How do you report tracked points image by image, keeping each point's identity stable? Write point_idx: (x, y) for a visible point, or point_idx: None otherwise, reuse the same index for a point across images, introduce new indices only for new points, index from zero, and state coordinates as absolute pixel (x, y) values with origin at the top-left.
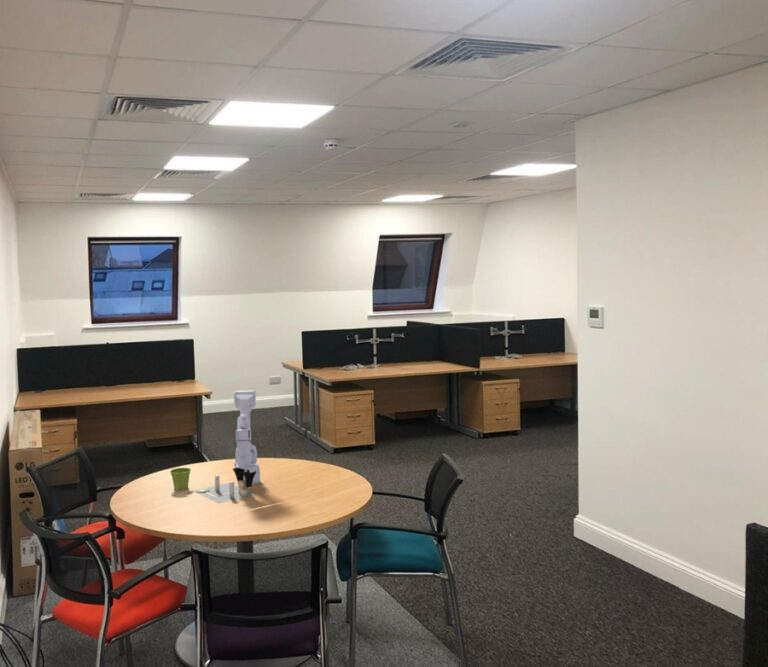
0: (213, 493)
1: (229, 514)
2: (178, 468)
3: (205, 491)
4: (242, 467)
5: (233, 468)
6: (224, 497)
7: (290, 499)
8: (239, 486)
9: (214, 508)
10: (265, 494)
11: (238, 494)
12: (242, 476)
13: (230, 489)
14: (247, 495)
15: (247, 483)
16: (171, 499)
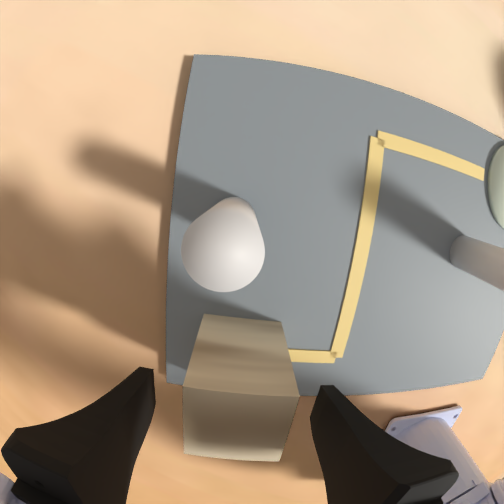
0: (444, 192)
1: (9, 51)
2: None
3: (493, 177)
4: None
5: (452, 480)
6: (293, 176)
7: (26, 411)
8: (270, 358)
9: (147, 7)
10: (158, 422)
11: (269, 311)
12: (326, 465)
13: (217, 204)
14: (189, 340)
15: (119, 392)
16: (487, 13)
